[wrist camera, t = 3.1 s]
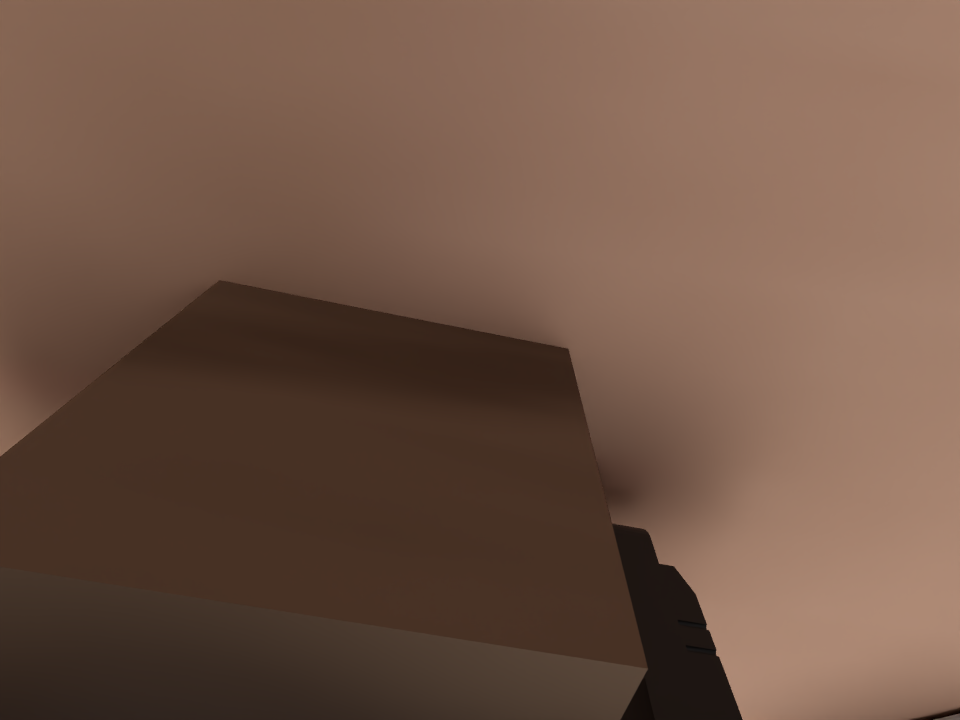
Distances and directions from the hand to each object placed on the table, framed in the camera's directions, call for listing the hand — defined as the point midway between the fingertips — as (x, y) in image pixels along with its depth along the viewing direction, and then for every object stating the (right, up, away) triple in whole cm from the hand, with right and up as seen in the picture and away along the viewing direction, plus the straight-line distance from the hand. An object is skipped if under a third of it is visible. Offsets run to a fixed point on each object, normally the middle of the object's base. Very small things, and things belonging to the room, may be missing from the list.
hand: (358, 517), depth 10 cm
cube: (0, +1, +2) cm, 2 cm away
